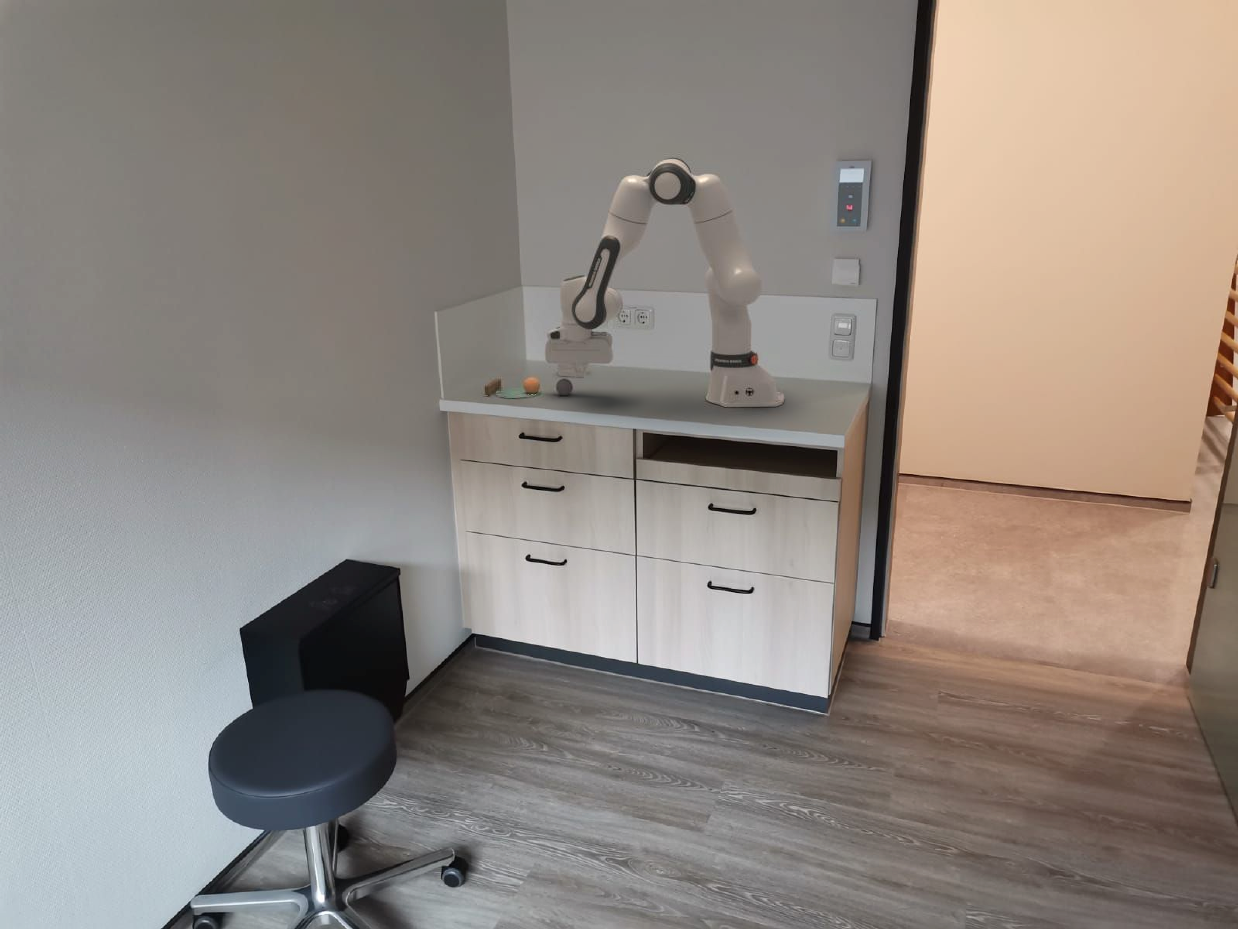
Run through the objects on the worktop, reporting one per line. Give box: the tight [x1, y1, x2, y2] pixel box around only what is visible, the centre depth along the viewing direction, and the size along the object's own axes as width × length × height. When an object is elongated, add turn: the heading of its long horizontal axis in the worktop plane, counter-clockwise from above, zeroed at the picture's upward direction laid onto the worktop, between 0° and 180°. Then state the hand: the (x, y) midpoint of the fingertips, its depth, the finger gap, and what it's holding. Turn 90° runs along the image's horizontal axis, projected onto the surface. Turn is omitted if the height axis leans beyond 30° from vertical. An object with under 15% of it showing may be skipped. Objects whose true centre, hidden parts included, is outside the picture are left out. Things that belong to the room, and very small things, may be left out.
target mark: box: [494, 386, 542, 399], centre depth 279 cm, size 14×14×1 cm
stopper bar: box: [484, 378, 502, 397], centre depth 280 cm, size 2×10×3 cm, turn 167°
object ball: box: [522, 376, 541, 394], centre depth 277 cm, size 5×5×5 cm
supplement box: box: [557, 363, 584, 378], centre depth 300 cm, size 7×7×13 cm
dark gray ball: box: [555, 378, 574, 396], centre depth 275 cm, size 5×5×5 cm
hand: (580, 377), depth 274 cm, fingers closed
